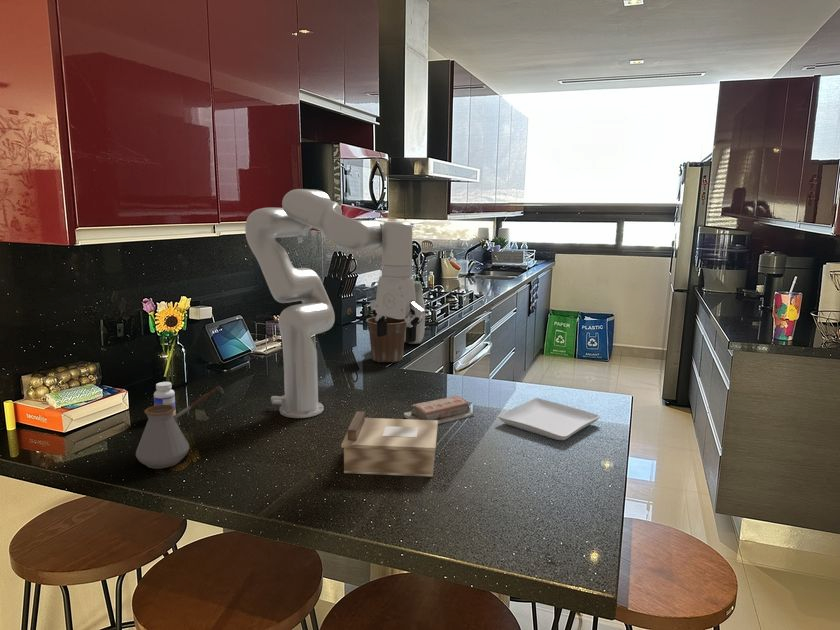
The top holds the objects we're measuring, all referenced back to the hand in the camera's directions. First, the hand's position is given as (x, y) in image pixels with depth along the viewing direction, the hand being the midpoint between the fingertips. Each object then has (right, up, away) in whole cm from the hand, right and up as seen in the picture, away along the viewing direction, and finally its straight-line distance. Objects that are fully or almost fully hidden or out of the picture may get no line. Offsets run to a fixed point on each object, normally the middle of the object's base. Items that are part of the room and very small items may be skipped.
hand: (396, 338), depth 145 cm
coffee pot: (-51, -28, -8) cm, 58 cm away
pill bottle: (-66, -23, +16) cm, 72 cm away
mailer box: (-1, -28, -9) cm, 30 cm away
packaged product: (+11, -24, +19) cm, 33 cm away
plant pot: (-7, -12, +80) cm, 81 cm away
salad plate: (+42, -25, +14) cm, 51 cm away
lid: (0, -22, -10) cm, 25 cm away
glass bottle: (+3, -7, +107) cm, 107 cm away
